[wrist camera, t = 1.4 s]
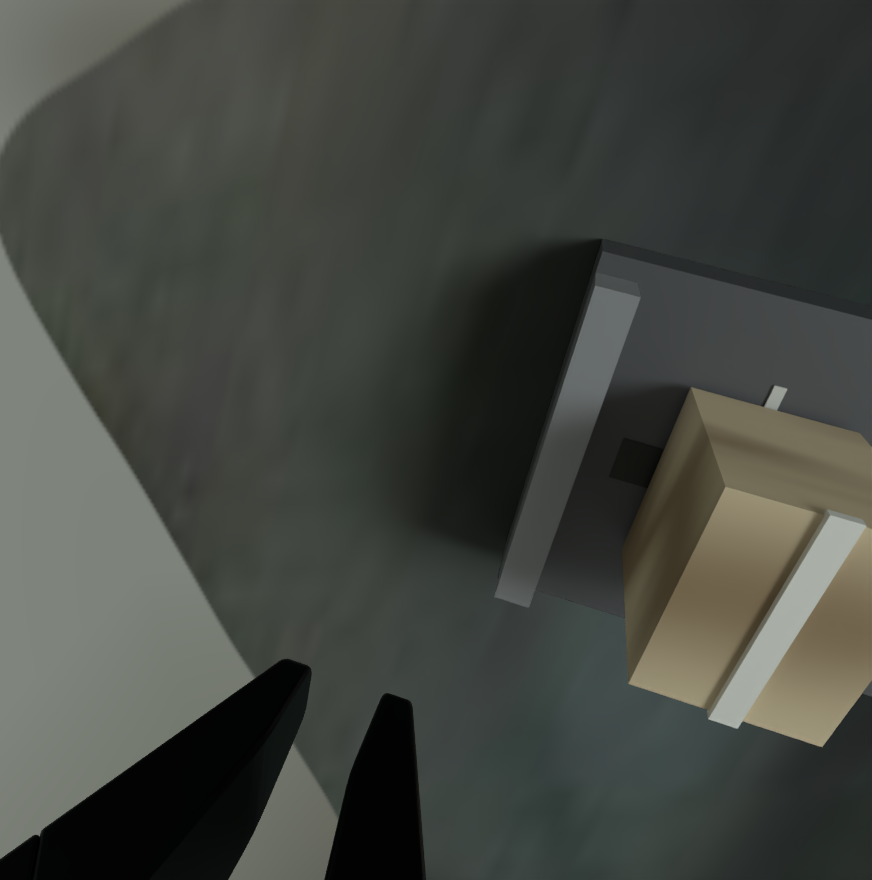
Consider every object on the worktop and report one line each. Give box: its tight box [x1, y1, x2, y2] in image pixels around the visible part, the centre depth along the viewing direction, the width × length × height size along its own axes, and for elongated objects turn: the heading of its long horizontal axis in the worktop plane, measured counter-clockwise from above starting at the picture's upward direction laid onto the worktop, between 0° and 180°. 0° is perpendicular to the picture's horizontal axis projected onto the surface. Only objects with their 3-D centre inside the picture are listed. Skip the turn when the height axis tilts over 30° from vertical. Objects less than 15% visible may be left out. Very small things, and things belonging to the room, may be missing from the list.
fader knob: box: [622, 387, 872, 747], centre depth 14 cm, size 5×4×5 cm
